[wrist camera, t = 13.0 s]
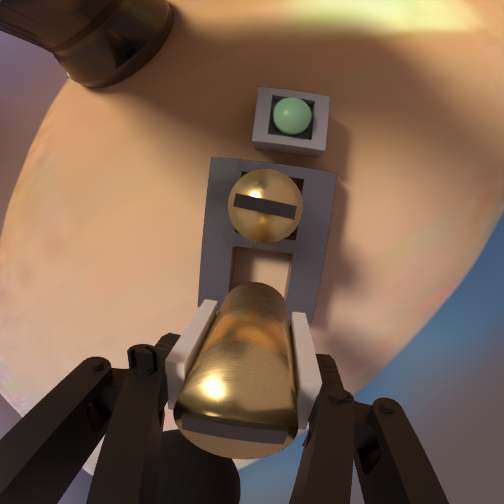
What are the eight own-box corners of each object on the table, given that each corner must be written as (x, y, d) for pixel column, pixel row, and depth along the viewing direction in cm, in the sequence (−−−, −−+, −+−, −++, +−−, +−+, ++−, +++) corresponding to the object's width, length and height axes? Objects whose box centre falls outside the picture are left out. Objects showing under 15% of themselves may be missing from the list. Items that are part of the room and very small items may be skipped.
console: (254, 148, 25) (251, 140, 21) (260, 101, 24) (258, 86, 20) (317, 157, 24) (325, 150, 20) (321, 109, 23) (329, 96, 19)
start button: (271, 134, 22) (271, 128, 20) (275, 102, 21) (275, 95, 19) (306, 139, 21) (309, 134, 19) (309, 107, 21) (312, 100, 19)
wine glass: (242, 351, 29) (207, 515, 10) (260, 413, 31) (247, 548, 11) (160, 359, 30) (80, 483, 11) (187, 416, 32) (143, 532, 13)
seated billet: (241, 222, 26) (220, 235, 16) (251, 177, 25) (235, 161, 15) (287, 232, 26) (294, 251, 16) (296, 187, 25) (310, 177, 15)
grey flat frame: (203, 298, 28) (197, 307, 26) (217, 160, 25) (211, 157, 23) (308, 312, 27) (311, 322, 25) (330, 175, 25) (336, 173, 22)
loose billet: (219, 336, 18) (174, 452, 8) (224, 277, 17) (167, 374, 7) (282, 345, 18) (284, 469, 8) (292, 286, 17) (313, 395, 7)
